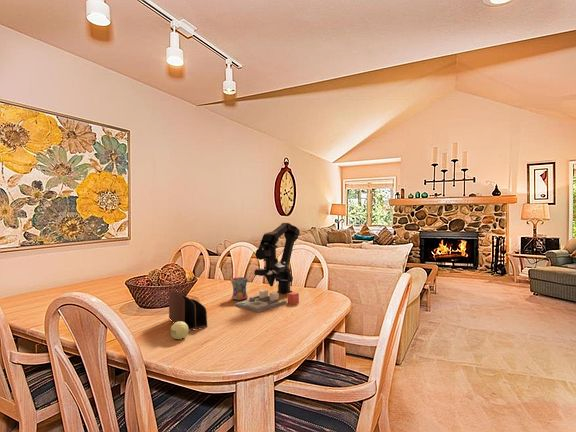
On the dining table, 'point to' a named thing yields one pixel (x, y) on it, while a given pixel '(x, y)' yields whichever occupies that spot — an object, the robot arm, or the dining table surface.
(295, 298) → the red block
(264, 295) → the switch
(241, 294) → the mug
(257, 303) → the breaker panel
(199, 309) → the letter holder
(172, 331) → the tennis ball
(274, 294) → the switch
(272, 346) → the dining table surface
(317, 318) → the dining table surface
